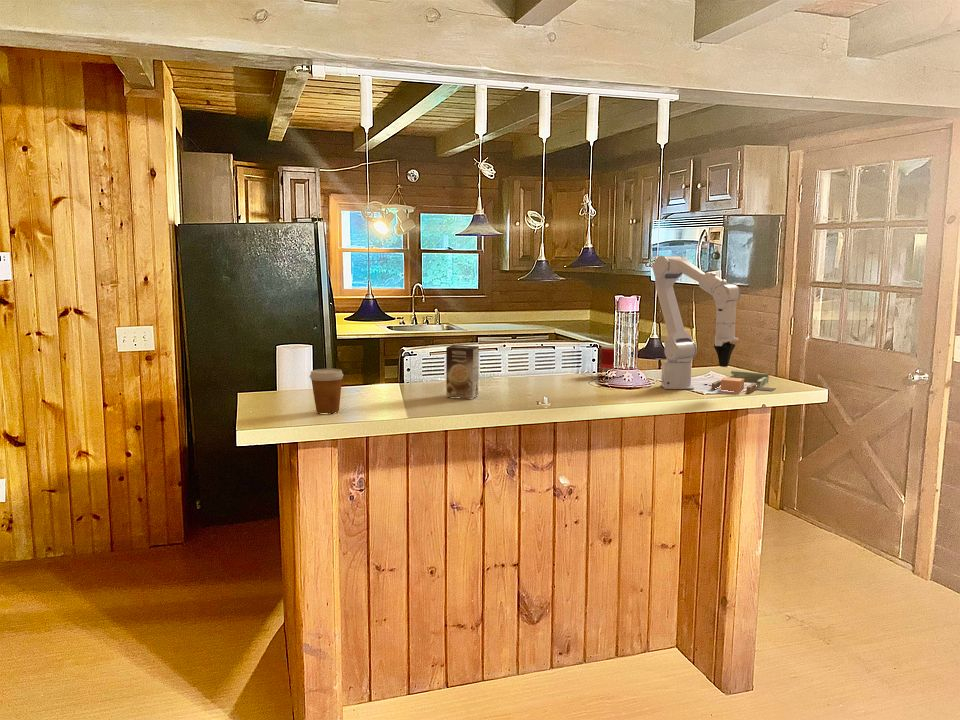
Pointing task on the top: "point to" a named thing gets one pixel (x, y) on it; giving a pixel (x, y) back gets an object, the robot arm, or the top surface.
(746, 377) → the trap lane
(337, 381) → the disposable coffee cup
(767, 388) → the trap pads
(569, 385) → the top surface
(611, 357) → the canned food
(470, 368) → the coffee box
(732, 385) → the block
